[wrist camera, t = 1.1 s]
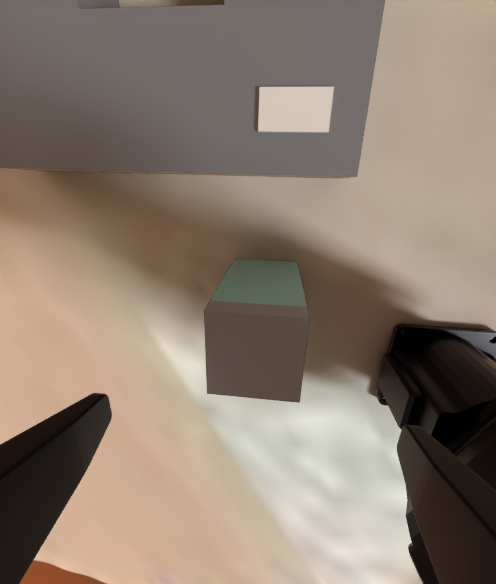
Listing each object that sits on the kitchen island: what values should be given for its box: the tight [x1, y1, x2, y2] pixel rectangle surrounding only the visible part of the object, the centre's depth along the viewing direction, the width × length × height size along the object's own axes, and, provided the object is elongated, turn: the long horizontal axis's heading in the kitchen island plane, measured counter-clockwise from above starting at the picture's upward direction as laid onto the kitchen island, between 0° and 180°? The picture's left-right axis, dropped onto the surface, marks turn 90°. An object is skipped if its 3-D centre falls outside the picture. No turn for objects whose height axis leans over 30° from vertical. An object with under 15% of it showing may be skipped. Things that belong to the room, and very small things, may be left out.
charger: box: [204, 259, 310, 403], centre depth 15 cm, size 4×4×8 cm
